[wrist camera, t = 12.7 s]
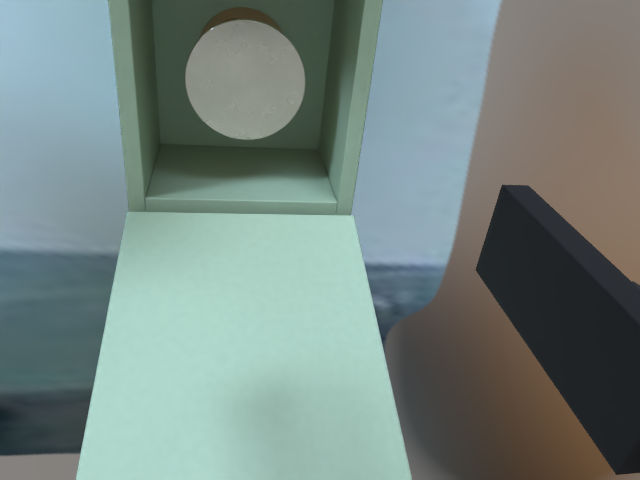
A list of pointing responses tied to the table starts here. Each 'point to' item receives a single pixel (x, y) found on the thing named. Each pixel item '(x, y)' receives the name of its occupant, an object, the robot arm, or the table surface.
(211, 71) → the coffee pod
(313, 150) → the pale green cubby
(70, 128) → the table surface
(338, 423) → the lid
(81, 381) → the table surface
